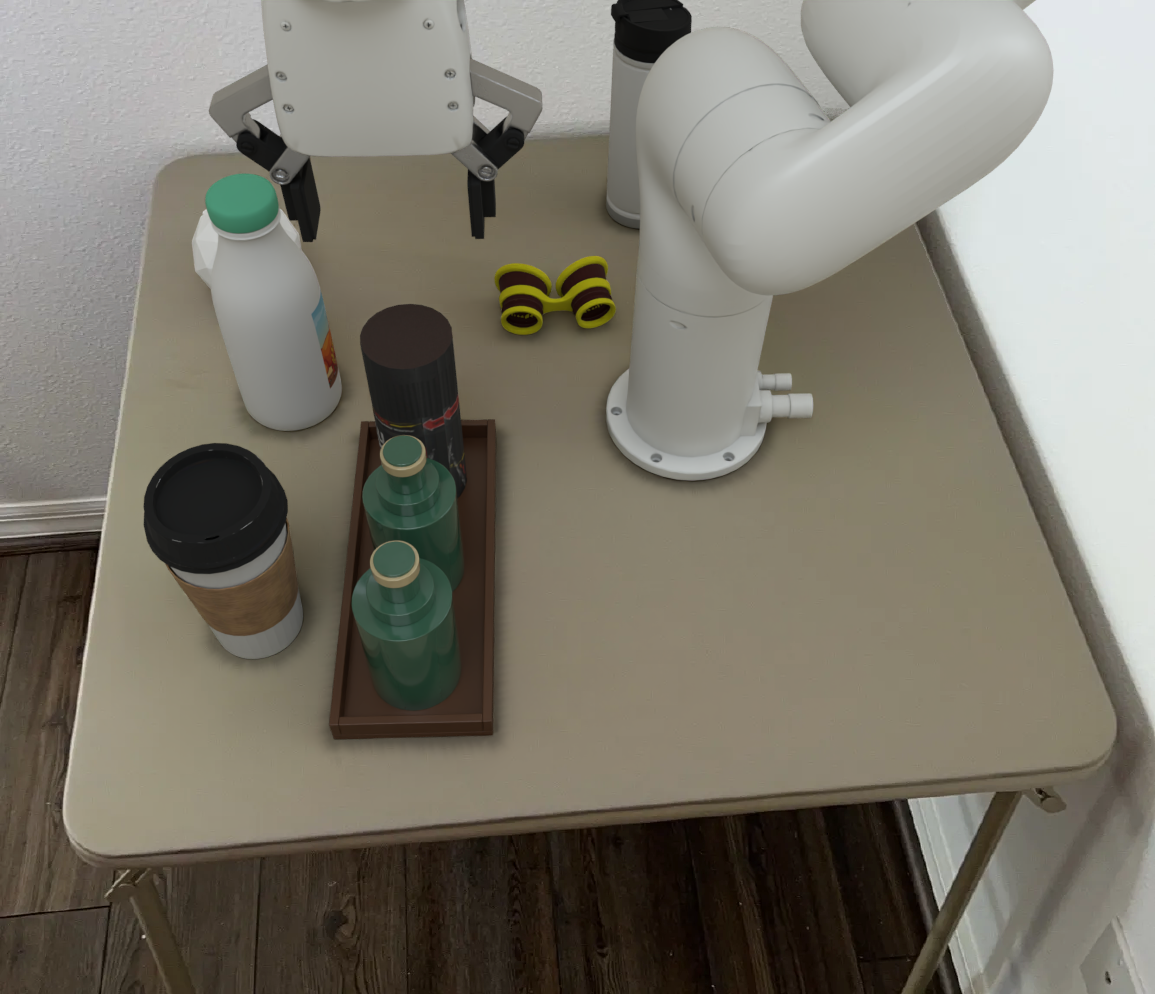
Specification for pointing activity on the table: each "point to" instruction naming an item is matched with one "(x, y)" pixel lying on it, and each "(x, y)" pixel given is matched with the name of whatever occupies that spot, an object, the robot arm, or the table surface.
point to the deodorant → (415, 382)
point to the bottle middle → (415, 505)
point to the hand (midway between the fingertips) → (395, 225)
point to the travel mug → (635, 90)
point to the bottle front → (407, 628)
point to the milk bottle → (270, 309)
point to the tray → (473, 599)
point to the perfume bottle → (208, 243)
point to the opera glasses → (579, 293)
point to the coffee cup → (228, 545)
